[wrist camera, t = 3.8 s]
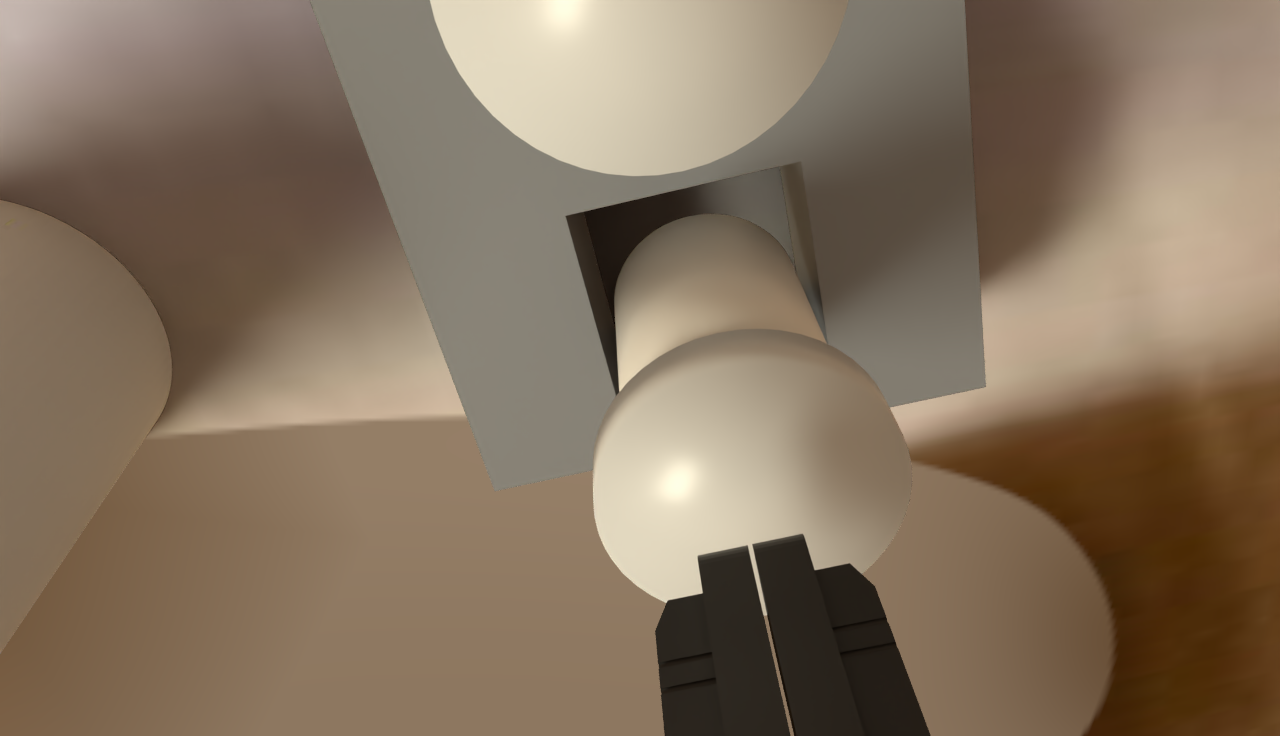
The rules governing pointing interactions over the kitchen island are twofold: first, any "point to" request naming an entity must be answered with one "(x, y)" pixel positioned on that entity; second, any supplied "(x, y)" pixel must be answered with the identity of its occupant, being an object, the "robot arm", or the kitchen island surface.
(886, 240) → the panel
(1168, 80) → the kitchen island surface
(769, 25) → the mid plunger
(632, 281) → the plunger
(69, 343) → the white cylinder
